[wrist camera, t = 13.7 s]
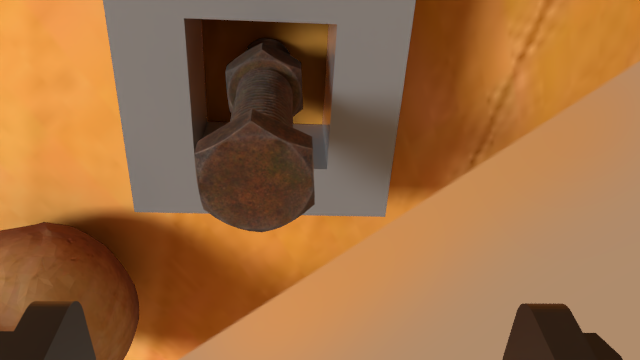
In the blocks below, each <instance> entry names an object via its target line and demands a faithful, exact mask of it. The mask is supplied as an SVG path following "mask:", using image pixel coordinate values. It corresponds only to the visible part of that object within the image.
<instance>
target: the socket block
mask: <svg viewBox="0 0 640 360" xmlns="http://www.w3.org/2000/svg"><path fill="white" fill-rule="evenodd" d="M103 3H104V10H105V17H106V23H107V30H108V37H109V43H110V50H111V57H112V63H113V70H114V77H115V83H116V90H117V97H118V103H119V110H120V117H121V123H122V130H123V137H124V143H125V150H126V157H127V163H128V170H129V177H130V183H131V190H132V197H133V203H134V210H135V212H160V213H208V212H207V211H205V210H204V209H203V206H202V203H201V200H200V195H199V190H198V185H197V179H196V170H195V156H194V153H195V149H196V146H197V142H198V141H199V140H201V139H202V138H204V137H206V136H207V135H209V134H211V133H212V132H214V131H216V130H217V129H219V128H221V127H222V126H224V125H226V124H228V123H229V122H210V121H207V105H206V88H205V71H204V54H203V37H202V20H201V19H217V20H242V21H267V22H291V23H316V24H329V28H328V44H327V60H326V76H325V92H324V108H323V124H322V125H316V124H293V128H295V129H297V130H299V131H301V132H303V133H306V134H308V135H310V136H312V143H313V162H314V190H315V205H313V206H312V207H311V208H310V209H309V210H307V211H306V212H305V213H304V214H302V215H326V216H381V217H385V213H386V206H387V199H388V192H389V185H390V178H391V171H392V164H393V157H394V150H395V143H396V136H397V129H398V122H399V115H400V108H401V101H402V94H403V87H404V80H405V73H406V66H407V59H408V52H409V45H410V38H411V31H412V24H413V17H414V10H415V3H416V0H103Z"/></svg>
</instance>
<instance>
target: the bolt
mask: <svg viewBox="0 0 640 360" xmlns="http://www.w3.org/2000/svg"><path fill="white" fill-rule="evenodd" d="M247 48H248V49H247V50H246V51H245V52H244V53H243V54H241V55H240V56H238V57H237V58H235V59H234V60H233V61H232V62H230V63H229V64H228V65H227V67H226V71H225V74H226V88H227V97H228V104H229V109H230V112H231V113H232V114H231V120H230V122H229V123H228V124H226V125H224V126H222V127H221V128H219V129H217V130H216V131H214V132H212V133H211V134H209V135H207V136H206V137H204V138H202V139H201V140H199V141H198V142H197V146H196V149H195V153H194V156H195V170H196V179H197V185H198V190H199V195H200V200H201V203H202V206H203V209H204V210H205V211H207V212H208V213H210V214H211V215H212V216H214V217H215V218H217V219H219V220H221V221H223V222H224V223H226V224H229V225H231V226H234V227H237V228H240V229H244V230H248V231H256V232H265V231H269V230H273V229H276V228H279V227H282V226H284V225H286V224H288V223H290V222H291V221H293V220H295V219H296V218H298V217H299V216H301V215H302V214H304V213H305V212H306V211H307V210H309V209H310V208H311V207H312V206H313V205H315V190H314V162H313V143H312V136H310V135H308V134H306V133H303V132H301V131H299V130H297V129H295V128H293V116H295V115H296V114H297V113H298V112H300V111H301V110H302V109H303V97H302V74H301V62H300V61H298V60H297V59H295V58H294V57H292V56H291V55H290V53H289V51H288V49H287V48H286V47H285V46H284V45H283V44H282V43H280V42H278V41H276V40H273V39H268V38H261V39H258V40H256V41H254V42H252V43H251V44H250V45H249V46H248V47H247Z"/></svg>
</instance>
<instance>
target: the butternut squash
mask: <svg viewBox="0 0 640 360" xmlns="http://www.w3.org/2000/svg"><path fill="white" fill-rule="evenodd" d="M34 301H78V302H79V303H80V304H81V306H82V308H83V311H84V315H85V319H86V323H87V326H88V330H89V334H90V337H91V341H92V345H93V349H94V352H95V356H96V360H123V359H124V358H125V356H126V354H127V352H128V351H129V348H130V346H131V343H132V341H133V338H134V335H135V332H136V328H137V324H138V320H139V302H138V296H137V292H136V289H135V285H134V283H133V281H132V280H131V278H130V276H129V275H128V273H127V272H126V270H125V269H124V267H123V266H122V264H121V263H120V262H119V261H118V259H117V258H116V257H115V256H114V255H113V254H112V252H111V251H110V250H109V249H108V248H107V247H106V246H105V245H103V244H102V243H100V242H99V241H97V240H96V239H94V238H93V237H91V236H90V235H88V234H86V233H84V232H82V231H80V230H78V229H76V228H73V227H71V226H66V225H61V224H53V223H46V222H43V223H39V224H35V225H31V226H25V227H19V228H14V229H8V230H2V231H0V331H14V330H15V328H16V326H17V324H18V323H19V321H20V319H21V317H22V316H23V314H24V312H25V310H26V309H27V307H28V306H29V305H30V304H31V303H32V302H34Z"/></svg>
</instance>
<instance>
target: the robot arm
mask: <svg viewBox="0 0 640 360" xmlns="http://www.w3.org/2000/svg"><path fill="white" fill-rule="evenodd" d="M0 360H96V356H95V352H94V349H93V345H92V341H91V337H90V334H89V330H88V326H87V323H86V319H85V315H84V311H83V308H82V306H81V304H80V303H79V302H78V301H34V302H32V303H31V304H30V305H29V306H28V307H27V309H26V310H25V312H24V314H23V316H22V317H21V319H20V321H19V323H18V324H17V326H16V328H15V330H14V331H0ZM503 360H623V359H622V358H621V356H620V355H619V354H618V353H617V352H616V351H615V350H614V349H612V348H611V347H610V346H609V345H608V344H607V343H606V342H605V341H604V340H603V339H602V338H600V337H599V336H598V335H597V334H596V333H582V331H581V329H580V327H579V325H578V323H577V322H576V320H575V318H574V316H573V315H572V312H571V311H570V309H569V308H568V307H567V306H566V305H564V304H521V305H520V307H519V308H518V310H517V313H516V316H515V320H514V323H513V326H512V329H511V333H510V336H509V339H508V343H507V346H506V349H505V353H504V356H503Z"/></svg>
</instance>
